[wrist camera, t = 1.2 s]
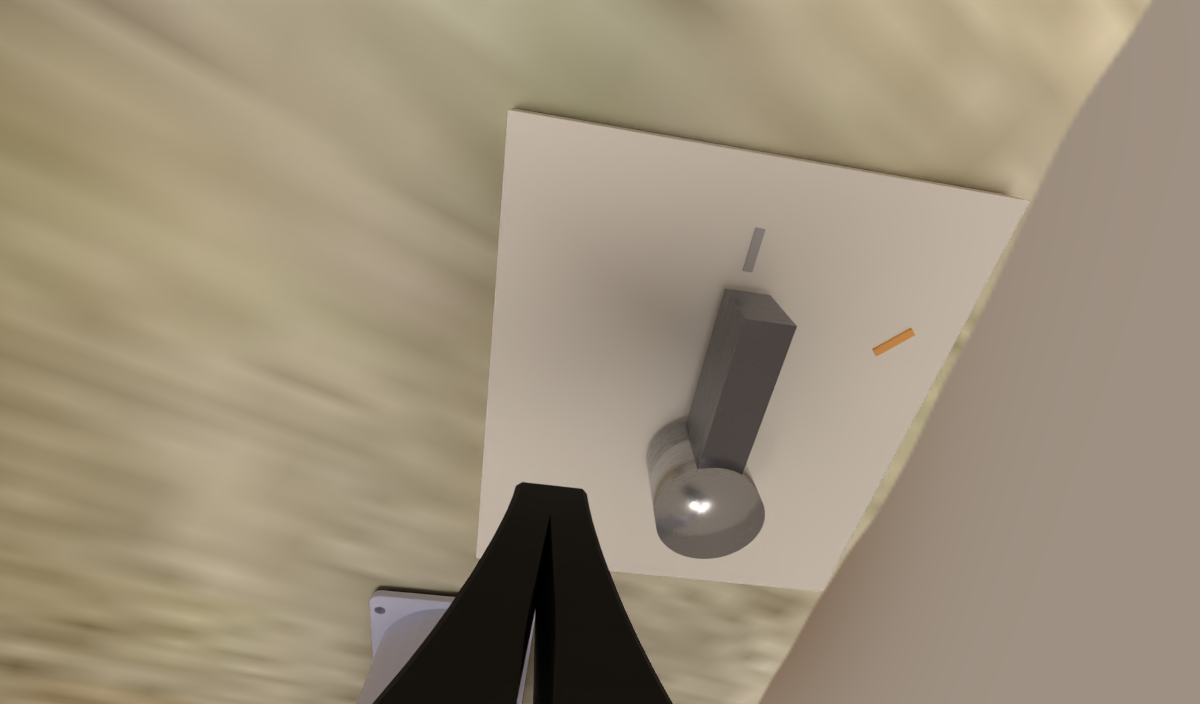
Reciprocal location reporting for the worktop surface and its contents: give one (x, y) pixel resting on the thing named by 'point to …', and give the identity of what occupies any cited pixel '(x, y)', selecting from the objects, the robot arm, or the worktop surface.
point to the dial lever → (720, 433)
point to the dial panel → (686, 320)
